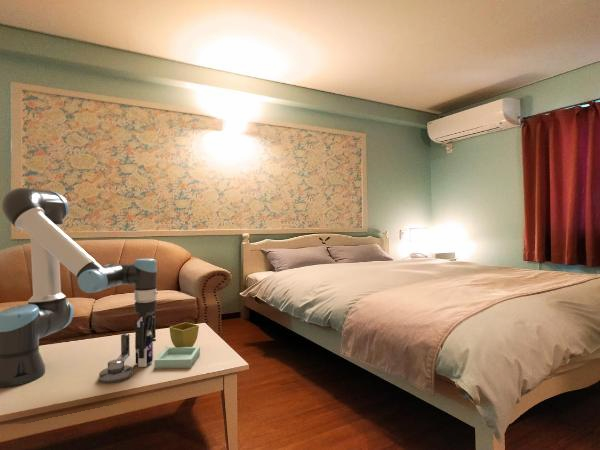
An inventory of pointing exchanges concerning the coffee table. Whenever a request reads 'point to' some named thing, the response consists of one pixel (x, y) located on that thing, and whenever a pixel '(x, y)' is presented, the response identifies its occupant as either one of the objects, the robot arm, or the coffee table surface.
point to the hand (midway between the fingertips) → (145, 362)
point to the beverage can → (149, 348)
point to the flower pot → (184, 334)
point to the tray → (177, 357)
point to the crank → (118, 363)
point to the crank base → (115, 375)
